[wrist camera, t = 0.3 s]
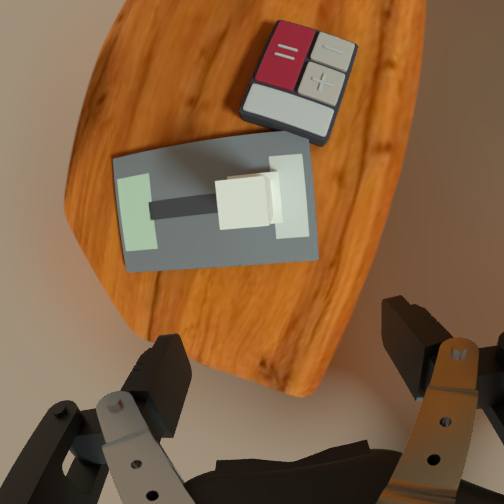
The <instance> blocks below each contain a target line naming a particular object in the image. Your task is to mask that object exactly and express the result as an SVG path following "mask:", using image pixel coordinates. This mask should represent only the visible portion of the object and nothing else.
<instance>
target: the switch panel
mask: <svg viewBox="0 0 504 504" xmlns="http://www.w3.org/2000/svg"><path fill="white" fill-rule="evenodd" d="M113 169H114V181H115V192H116V202H117V211H118V219H119V226H120V234H121V240H122V247H123V253H124V259H125V265H126V271H127V272H145V271H162V270H179V269H195V268H211V267H226V266H241V265H256V264H271V263H285V262H298V261H312V260H319V256H318V238H317V223H316V209H315V196H314V185H313V174H312V164H311V154H310V145H309V139H306V138H303V137H301V136H298V135H295V134H292V133H289V132H286V131H277V132H266V133H257V134H248V135H239V136H231V137H224V138H217V139H210V140H204V141H197V142H191V143H185V144H180V145H174V146H169V147H164V148H159V149H154V150H149V151H145V152H140V153H136V154H131V155H127V156H123V157H119V158H115V159H113ZM277 171H279V180H280V191H281V202H282V213H283V223H276V224H270V225H269V226H261V227H249V228H237V229H226V230H220V226H219V217H218V207H217V198H216V188H215V181H220V180H227V176H236V175H245V174H255V173H266V172H277Z"/></svg>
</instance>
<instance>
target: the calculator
mask: <svg viewBox="0 0 504 504" xmlns="http://www.w3.org/2000/svg"><path fill="white" fill-rule="evenodd" d="M357 49H358V45H357V44H355V43H353V42H350V41H347V40H345V39H342V38H339V37H336V36H333V35H331V34H328V33H325V32H322V31H318V30H315V29H312V28H309V27H305V26H302V25H298V24H295V23H291V22H287V21H283V20H278V21H277V22H276V24H275V26H274V28H273V30H272V32H271V35H270V37H269V39H268V41H267V43H266V46H265V48H264V50H263V53H262V55H261V57H260V59H259V62H258V64H257V66H256V69H255V71H254V73H253V76H252V78H251V81H250V83H249V85H248V88H247V90H246V93H245V95H244V98H243V100H242V103H241V105H240V108H239V113H240V115H241V118H242V120H243V121H246V122H249V123H253V124H256V125H259V126H262V127H265V128H268V129H272V130H275V131H286V132H289V133H292V134H295V135H298V136H301V137H303V138H306V139H309V143H312V144H314V145H317V146H320V147H323V146H324V145H325V144H326V142H327V141H328V139H329V137H330V134H331V131H332V128H333V125H334V122H335V119H336V116H337V113H338V110H339V107H340V104H341V100H342V97H343V94H344V91H345V88H346V85H347V82H348V79H349V75H350V72H351V69H352V66H353V63H354V59H355V56H356V53H357Z"/></svg>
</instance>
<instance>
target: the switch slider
mask: <svg viewBox="0 0 504 504" xmlns="http://www.w3.org/2000/svg"><path fill="white" fill-rule="evenodd" d="M215 188H216V198H217V207H218V217H219V226H220V230H226V229H237V228H249V227H261V226H269V225H270V224H276V223H283V213H282V202H281V191H280V180H279V171H277V172H266V173H255V174H245V175H236V176H227V180H220V181H215Z"/></svg>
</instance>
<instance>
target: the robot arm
mask: <svg viewBox="0 0 504 504" xmlns="http://www.w3.org/2000/svg"><path fill="white" fill-rule="evenodd" d="M381 333H382V341H383V345H384V347H385V349H386V351H387V353H388V354H389V356H390V358H391V359H392V361H393V363H394V364H395V366H396V368H397V369H398V371H399V373H400V375H401V376H402V378H403V380H404V381H405V383H406V385H407V387H408V388H409V390H410V392H411V394H412V395H413V397H414V399H415V401H419V400H422V399H423V402H422V405H421V408H420V411H419V413H418V416H417V419H416V421H415V424H414V427H413V429H412V432H411V434H410V437H409V439H408V442H407V444H406V446H405V449H404V451H403V453H401V452H397V451H393V450H387V449H370V448H369V445H368V442H367V440H363V441H359V442H355V443H351V444H347V445H342V446H338V447H333V448H329V449H327V450H324V451H322V452H319V453H317V454H314V455H311V456H309V457H306V458H303V459H300V460H298V461H294V462H281V461H269V460H260V459H240V460H217V462H216V468H215V471H210V472H207V473H204V474H202V475H199V476H196V477H194V478H192V479H190V480H188V481H187V482H184V480H183V479H182V477H181V476H180V475H179V473H178V471H177V470H176V468H175V467H174V465H173V464H172V462H171V461H170V459H169V458H168V456H167V454H166V453H165V451H164V449H163V448H162V446H161V445H160V441H161V438H173V437H174V434H175V431H176V427H177V424H178V421H179V418H180V414H181V411H182V408H183V405H184V401H185V398H186V395H187V392H188V388H189V385H190V382H191V378H192V371H191V366H190V363H189V360H188V357H187V354H186V352H185V349H184V346H183V343H182V340H181V338H180V336H179V335H178V334H168V335H160V336H159V337H158V338H157V340H156V342H155V344H154V345H153V347H152V348H149V349H148V350H147V351H145V352H144V353H143V354H142V355H141V356H140V358H139V359H138V361H137V363H136V365H135V366H134V368H133V369H132V371H131V373H130V375H129V376H128V378H127V380H126V381H125V383H124V385H123V387H122V388H121V390H120V391H116V392H112V393H110V394H107V395H106V396H104V397H103V398H102V399H101V400H100V401H99V402H98V404H97V406H96V408H95V409H90V410H83V411H80V410H79V409H78V407H77V405H76V404H75V403H74V402H73V401H69V400H66V401H61V402H58V403H56V404H55V405H53V406H52V407H51V408H50V409H49V410H48V411H47V413H46V414H45V416H44V417H43V419H42V420H41V422H40V423H39V425H38V426H37V428H36V430H35V431H34V433H33V434H32V436H31V437H30V439H29V440H28V442H27V444H26V445H25V447H24V448H23V450H22V452H21V453H20V455H19V457H18V458H17V460H16V462H15V463H14V465H13V467H12V468H11V470H10V472H9V474H8V475H7V477H6V479H5V481H4V482H3V484H2V486H1V488H0V504H97V503H98V500H99V497H100V494H101V491H102V488H103V485H104V482H105V479H106V477H107V474H108V471H109V470H110V473H111V475H112V478H113V481H114V483H115V486H116V488H117V491H118V493H119V496H120V498H121V500H122V503H123V504H504V495H502V494H500V493H497V492H494V491H491V490H488V489H485V488H483V487H480V486H478V485H475V484H472V483H470V482H467V481H465V480H462V479H461V477H462V473H463V470H464V466H465V462H466V458H467V454H468V450H469V446H470V441H471V437H472V432H473V426H474V421H475V414H476V409H481V408H482V409H483V411H484V413H485V414H486V416H487V417H488V419H489V421H490V422H491V424H492V426H493V428H494V429H495V431H496V433H497V434H498V436H499V438H500V439H501V441H502V443H503V445H504V332H503V333H502V334H501V335H500V336H499V339H498V343H497V346H491V347H484V348H478V346H477V344H476V343H475V342H473V341H472V340H470V339H467V338H463V337H453V336H452V335H451V334H450V333H449V332H448V331H447V330H446V329H445V328H444V327H443V326H442V325H441V324H440V323H439V322H437V320H436V319H435V318H434V317H433V316H431V314H430V313H429V312H428V311H427V310H426V309H425V308H423V307H420V306H418V305H416V304H413V305H410V304H409V303H408V302H407V301H406V300H405V298H404V297H403V296H401V295H399V296H394V297H391V298H386V299H383V300H382V331H381ZM69 450H70V451H71V453H72V454H73V455H74V456H75V458H74V460H73V462H72V464H71V467H70V469H69V471H68V473H67V475H66V476H65V475H64V473H63V470H62V464H63V461H64V459H65V457H66V455H67V453H68V451H69Z"/></svg>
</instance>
